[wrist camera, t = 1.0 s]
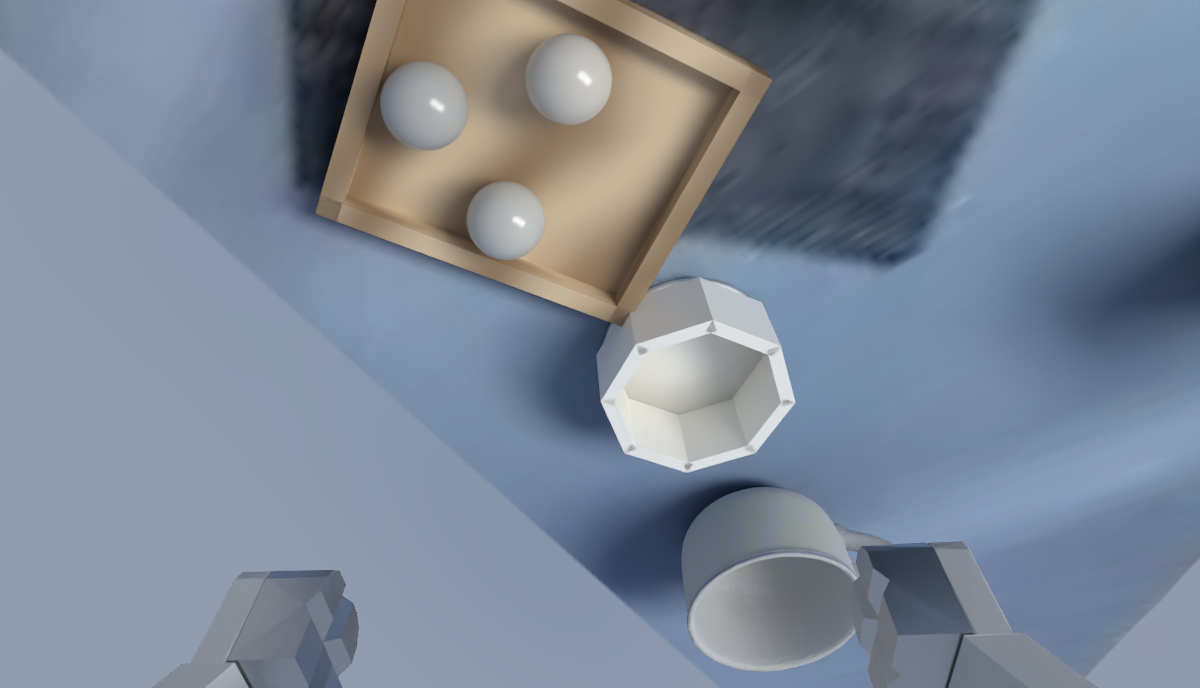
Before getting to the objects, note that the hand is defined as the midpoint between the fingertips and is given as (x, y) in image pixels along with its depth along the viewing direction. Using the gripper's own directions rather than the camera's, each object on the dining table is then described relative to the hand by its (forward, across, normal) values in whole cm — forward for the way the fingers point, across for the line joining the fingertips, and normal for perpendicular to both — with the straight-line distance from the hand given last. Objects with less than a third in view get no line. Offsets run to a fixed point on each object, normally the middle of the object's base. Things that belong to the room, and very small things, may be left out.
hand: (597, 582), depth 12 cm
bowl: (+28, -4, +14) cm, 31 cm away
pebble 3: (+26, +2, -2) cm, 26 cm away
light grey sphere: (+26, +5, +4) cm, 27 cm away
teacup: (+29, -9, +29) cm, 42 cm away
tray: (+26, +3, +1) cm, 27 cm away
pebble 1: (+26, +8, -2) cm, 27 cm away
